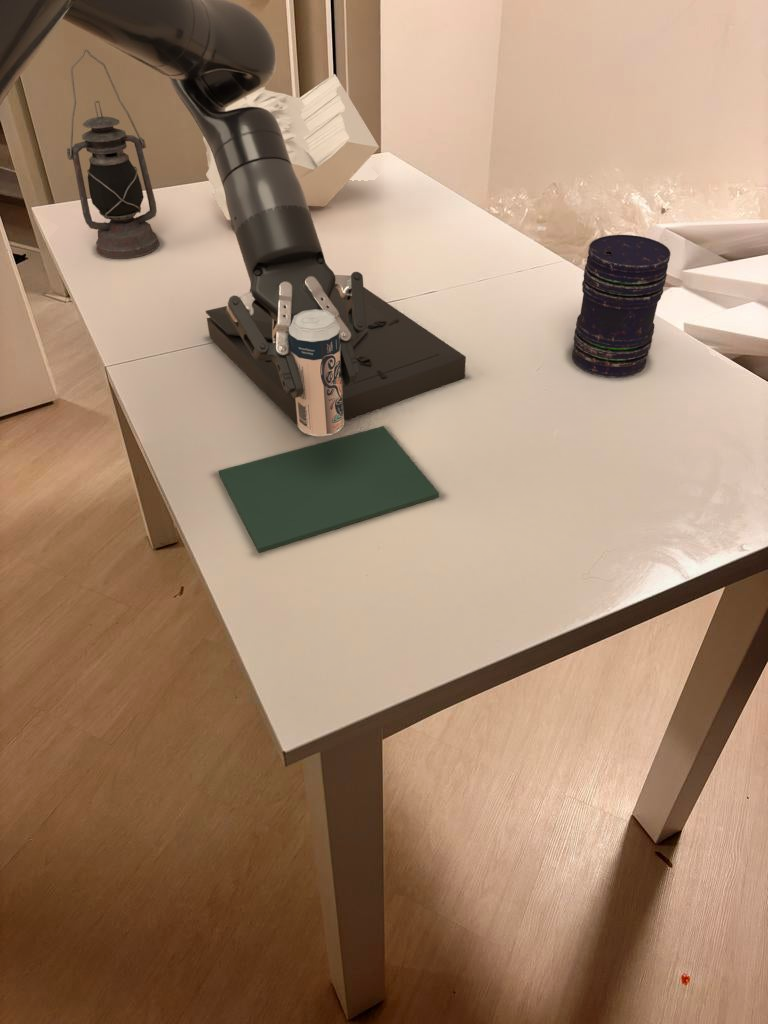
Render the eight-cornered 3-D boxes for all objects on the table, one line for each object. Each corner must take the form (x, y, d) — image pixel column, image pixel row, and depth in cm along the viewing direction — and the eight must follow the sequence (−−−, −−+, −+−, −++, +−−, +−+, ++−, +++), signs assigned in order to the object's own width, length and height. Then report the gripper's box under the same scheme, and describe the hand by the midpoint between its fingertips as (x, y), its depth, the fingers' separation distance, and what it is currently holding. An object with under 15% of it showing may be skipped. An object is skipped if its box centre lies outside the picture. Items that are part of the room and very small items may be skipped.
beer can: (343, 440, 80) (338, 331, 72) (295, 440, 80) (285, 331, 72) (345, 413, 84) (340, 307, 76) (300, 413, 84) (290, 307, 76)
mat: (258, 553, 79) (257, 548, 78) (218, 474, 88) (218, 470, 88) (439, 497, 85) (439, 492, 85) (383, 430, 95) (383, 425, 94)
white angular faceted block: (221, 237, 142) (306, 135, 126) (178, 162, 143) (257, 52, 127) (296, 238, 158) (379, 147, 142) (256, 171, 159) (334, 74, 143)
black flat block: (210, 338, 113) (305, 434, 94) (205, 310, 110) (303, 404, 91) (352, 297, 122) (464, 377, 104) (351, 271, 119) (466, 348, 101)
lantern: (153, 229, 144) (116, 38, 125) (173, 249, 137) (136, 50, 118) (84, 243, 140) (34, 47, 120) (100, 264, 133) (50, 60, 113)
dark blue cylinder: (621, 336, 112) (643, 230, 102) (661, 370, 104) (688, 259, 95) (557, 348, 109) (573, 240, 100) (594, 383, 102) (614, 271, 92)
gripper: (202, 215, 72) (259, 396, 71) (350, 191, 76) (405, 360, 76) (196, 252, 79) (248, 416, 78) (331, 227, 83) (381, 383, 83)
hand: (325, 388), depth 77 cm, fingers closed on beer can, 4 cm apart
